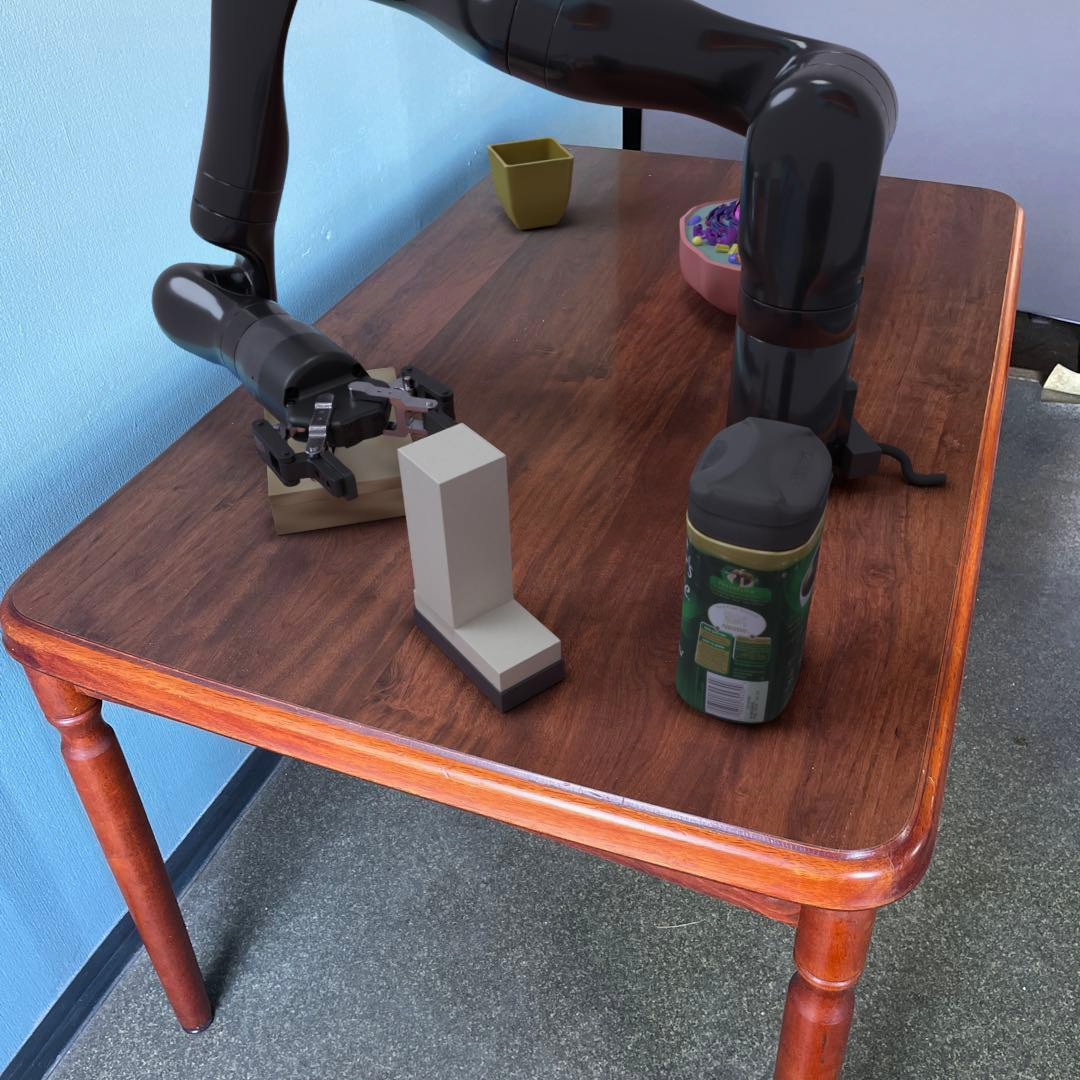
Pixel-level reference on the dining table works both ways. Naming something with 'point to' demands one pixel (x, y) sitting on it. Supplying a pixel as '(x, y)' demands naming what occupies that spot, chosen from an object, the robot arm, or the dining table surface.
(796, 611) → the coffee jar
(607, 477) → the dining table surface
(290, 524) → the tan flat block
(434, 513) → the boot
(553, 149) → the flower pot
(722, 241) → the cell model
